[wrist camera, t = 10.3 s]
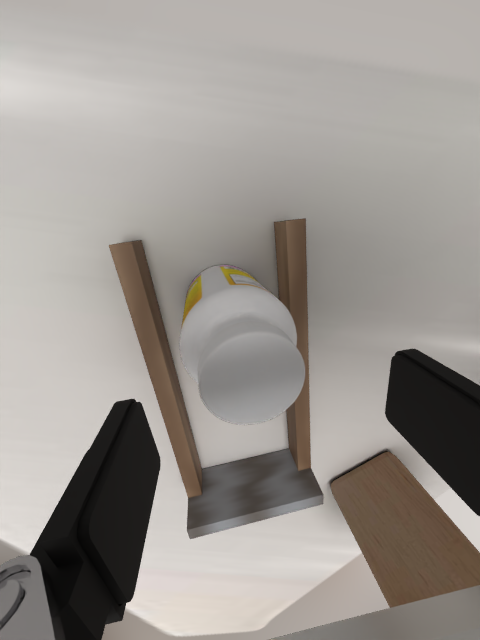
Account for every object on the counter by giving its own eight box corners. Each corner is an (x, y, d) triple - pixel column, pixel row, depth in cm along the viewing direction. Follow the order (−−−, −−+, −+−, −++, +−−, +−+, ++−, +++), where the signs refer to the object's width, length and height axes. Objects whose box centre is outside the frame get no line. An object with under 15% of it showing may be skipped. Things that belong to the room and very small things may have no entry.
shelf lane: (291, 220, 20) (325, 216, 15) (300, 454, 31) (323, 503, 25) (121, 242, 19) (89, 248, 13) (191, 480, 29) (190, 539, 24)
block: (325, 481, 33) (481, 791, 15) (388, 445, 33) (630, 722, 14) (349, 514, 37) (496, 795, 19) (406, 483, 37) (615, 740, 18)
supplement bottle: (201, 342, 23) (204, 462, 11) (174, 278, 21) (141, 343, 9) (266, 320, 23) (336, 413, 11) (248, 253, 21) (312, 284, 9)
